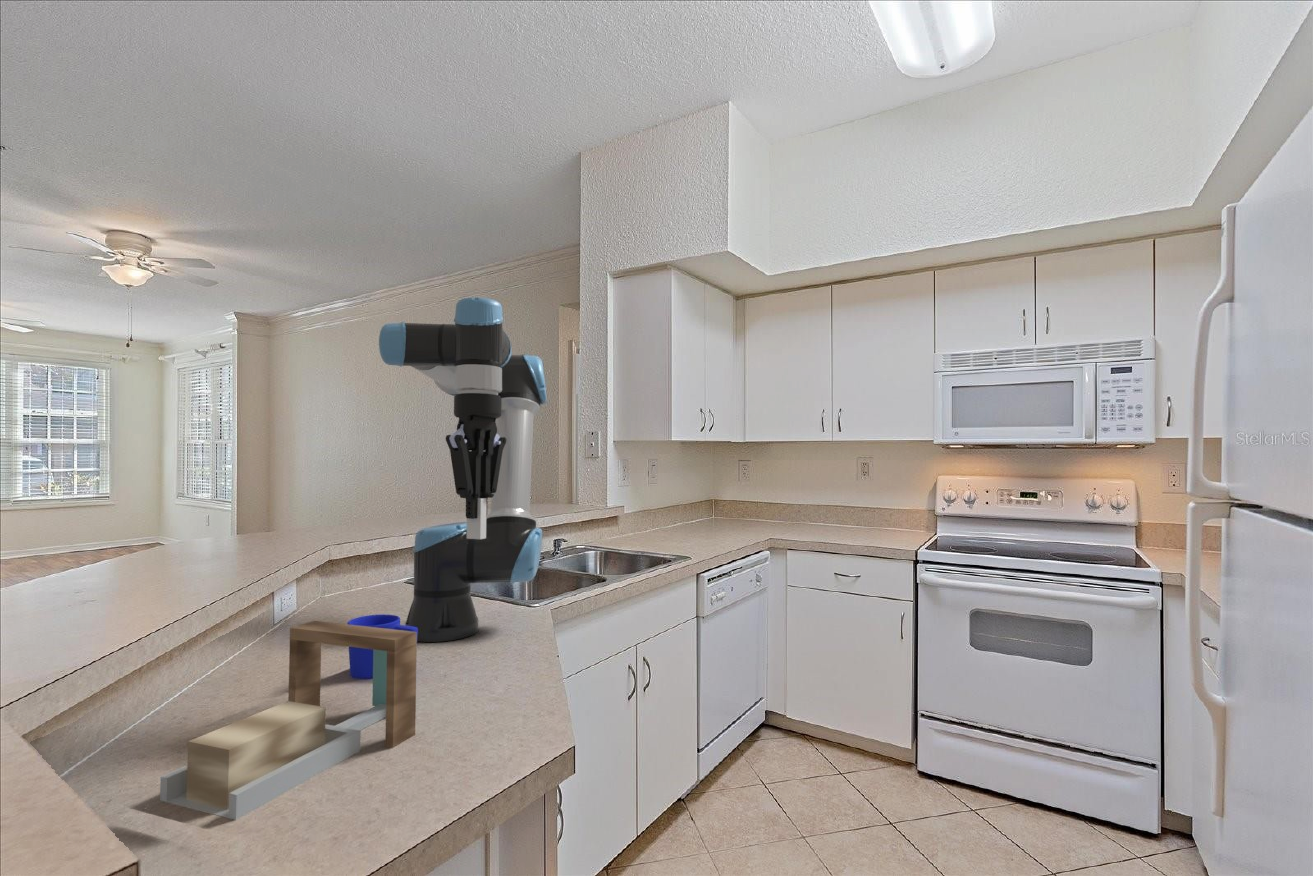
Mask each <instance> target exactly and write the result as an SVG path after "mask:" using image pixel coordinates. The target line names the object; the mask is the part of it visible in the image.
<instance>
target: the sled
mask: <svg viewBox="0 0 1313 876" xmlns="http://www.w3.org/2000/svg"><path fill="white" fill-rule="evenodd" d="M386 678H387V651H381V650H373V679H372V696H371V697H372V701H371V702H372V705H371V706H372V707H371V708H369V709H367V710H364V711H362V712H360V713H358V714H356V715H354V716H352V717H350V718H348V719H346V720H344V721H342V722H339V723H337V724H336V725H332V724H327V723H325V745H323V746H321V747H319V748H317V749H315V750H313V751H311V752H309V753H307V754H305V755H303V756H301V757H299V758H297V759H295V760H293V761H291V762H290V763H288V764H286V765H284V766H282V767H280V768H278V769H276V770H274V771H272V772H270V773H268V774H266V775H264V776H262V777H260V778H258V779H256V780H254V781H252V782H250V783H248V784H246V785H244V786H242V787H240V788H239V789H237V790H235V791H233V792H231V793H229V809H228V810H226V809H222V808H218V807H215V806H211V805H207V804H203V803H199V802H195V801H191V800H187V799H186V797H187V765H184V766H182V767H180V768H177V769H175V770H172V771H171V772H170V771H169V772H168V773H166V774H164V775H161V776H160V784H159V785H160V787H159V788H160V789H159V790H160V791H159V793H160V794H159V801H161V802H165V803H168V804H173V805H176V806H180V807H184V808H187V809H191V810H194V811H195V810H196V811H199V812H204V813H206V814H210V815H214V816H215V815H216V816H218V817H223V818H227V819H230V820H234V821H238V820H239V819H240V818H243V817H244V816H246V815H249V813H252V812H253V811H256V810H257V809H259V808H260V807H262V806H265V805H266V804H267V803H270V802H271V801H272V800H275V799H276V798H278V797H280V796H282V795H284V794H286V793H288V792H289V791H291V790H292V789H294V788H297V787H298V786H300V785H302V784H303V783H306V782H307V781H309V780H311V779H313V778H314V777H316V776H318V775H320V774H322V773H323V772H325V771H327V770H328V769H330V768H332V767H334V766H336V765H338V764H339V763H341V762H342V761H345V760H347V759H348V758H350V757H352V756H354V755H356V754H357V753H360V752H361V742H362V741H361V737H362V736H361V735H362V734H361V733H362V732H361V731H362V730H363V729H366V728H368V727H370V726H371V725H373V724H375V723H377V722H379V721H381V720H383V719H386Z"/></svg>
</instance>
